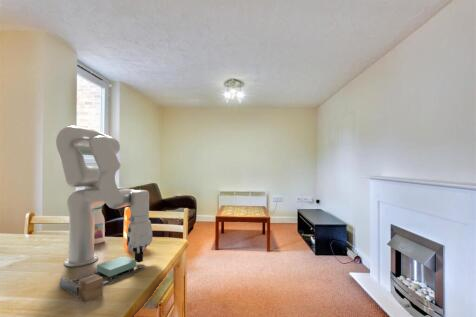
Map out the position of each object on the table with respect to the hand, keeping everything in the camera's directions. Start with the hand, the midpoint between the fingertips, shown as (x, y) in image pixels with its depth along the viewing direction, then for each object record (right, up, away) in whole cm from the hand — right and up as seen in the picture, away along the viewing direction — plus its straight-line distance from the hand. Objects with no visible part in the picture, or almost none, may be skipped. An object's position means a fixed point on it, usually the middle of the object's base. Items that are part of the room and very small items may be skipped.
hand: (138, 261), depth 107 cm
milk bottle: (-35, -2, +30) cm, 46 cm away
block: (-5, -1, -26) cm, 27 cm away
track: (-8, -1, -12) cm, 14 cm away
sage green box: (-5, -1, -8) cm, 10 cm away
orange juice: (-11, -2, +21) cm, 24 cm away
